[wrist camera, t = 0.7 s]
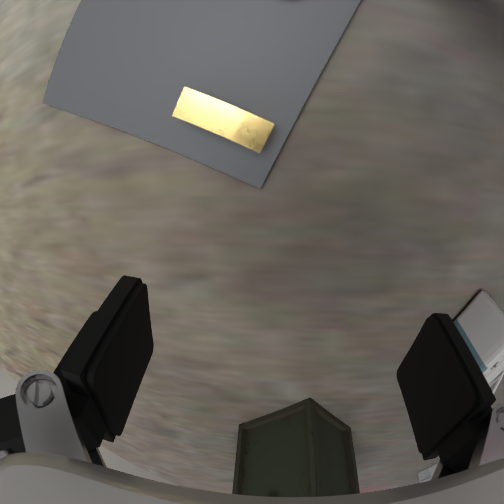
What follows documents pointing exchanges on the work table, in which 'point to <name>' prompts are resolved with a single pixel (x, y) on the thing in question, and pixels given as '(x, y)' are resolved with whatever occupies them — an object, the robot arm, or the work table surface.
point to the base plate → (196, 69)
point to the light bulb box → (427, 473)
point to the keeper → (223, 119)
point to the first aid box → (295, 454)
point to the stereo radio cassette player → (484, 335)
